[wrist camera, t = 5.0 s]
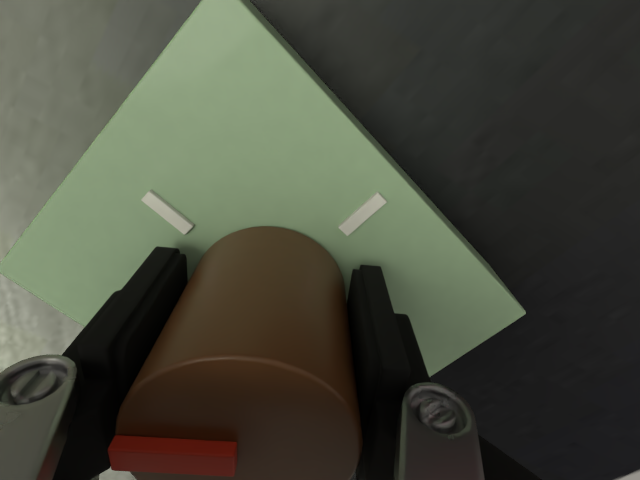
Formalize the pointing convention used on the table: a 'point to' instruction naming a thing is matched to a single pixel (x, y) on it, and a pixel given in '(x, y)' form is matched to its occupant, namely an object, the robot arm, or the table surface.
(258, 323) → the knob
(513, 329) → the table surface
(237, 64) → the panel
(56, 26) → the table surface
